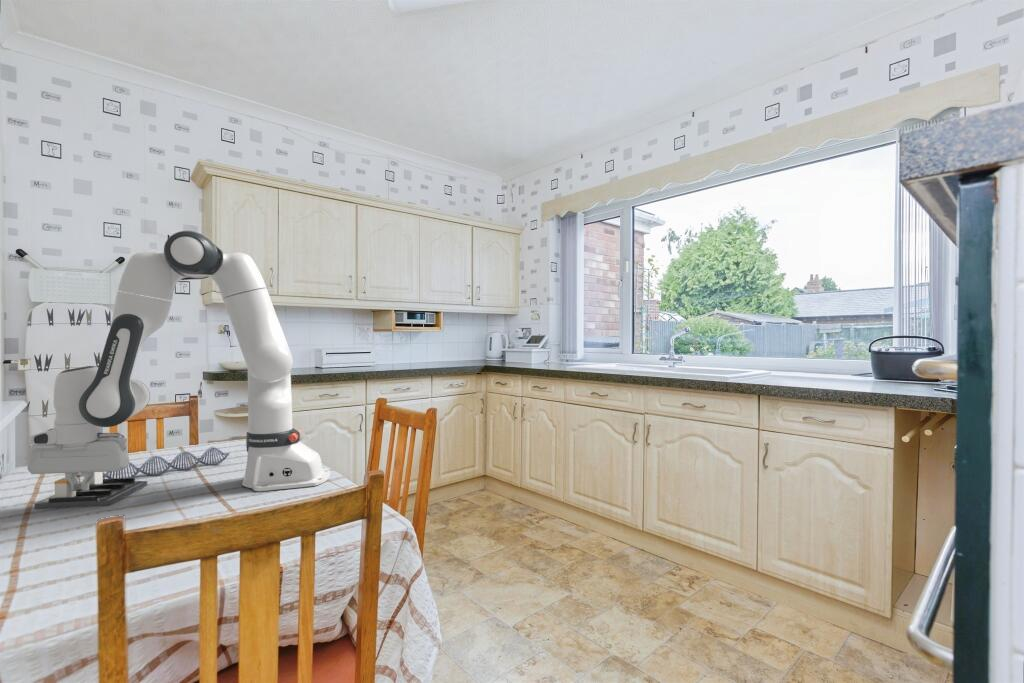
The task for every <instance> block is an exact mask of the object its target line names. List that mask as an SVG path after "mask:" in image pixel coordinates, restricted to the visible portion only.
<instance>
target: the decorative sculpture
mask: <svg viewBox="0 0 1024 683" xmlns="http://www.w3.org/2000/svg"><path fill="white" fill-rule="evenodd" d="M229 456H230V452H227V453H226V452H225V453H224V452H223V451H222V450H221V449H219V448H218V447H215V446H211V447H209V448H207V449H206V450H205V451H204V452H203V453H202V455H201V456H200V457H197V456H196V455H195V454H193V453H191V452H190V451H187V450H186V451H185V450H183V451H181V452H179V453H178V454H177V455H176V456H175V457H174V459H173V460H172V461H171V462H169V461H168V460H166V459H165V458H164V457H162V456H159V455H152V456H150V457H149V458H148V459H147V460H145V462H144V463H142V465H141V466H140V467H138V466H136V465H135V464H133V462H131V461H129V465H128V466H127V467H126V468H125V469H123V470H120V471H113V472H103V479H115V478H135V477H136V476H137V475H138V474H140V473H141V474H143V475H146V476H150V477H157V476H160V475H163V474H164V473H167V471H168V470H169V469H170V468H172V469H173V470H176V471H189V470H191V469H194V467H196V466H197V465H198V464H199V463H200V464H202V465H204V466H217V465H219V464H221V463H222V462H224V461H225V460H226V459H227V458H228V457H229ZM159 470H160V472H159Z"/></svg>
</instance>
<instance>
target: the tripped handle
mask: <svg viewBox="0 0 1024 683" xmlns="http://www.w3.org/2000/svg"><path fill="white" fill-rule="evenodd" d="M54 495H55V498H60V497H74V496H76V491H71V484H70V483H69V482H68V480H67V479H66V478H65V477H63V478H60V479H57V480H55V481H54Z"/></svg>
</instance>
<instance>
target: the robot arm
mask: <svg viewBox="0 0 1024 683" xmlns="http://www.w3.org/2000/svg"><path fill="white" fill-rule="evenodd" d="M207 278H210V279H211V280H213V281H214V282H215V284H216V285H217V287H218V290H219V293H220V296H221V297H222V300H223V304H224V306H225V309H226V312H227V314H228V317H229V320H230V322H231V324H232V328H233V330H234V333H235V335H236V336H235V337H236V339H237V342H238V345H239V348H240V350H241V353H242V356H243V359H244V361H245V364H246V368H247V425H248V426H247V432H246V439H245V447H246V453H247V459H246V466H245V471H244V477H243V480H242V486H243V487H245V488H248V489H252V490H253V491H255V492H264V491H265V492H266V491H267V492H268V491H275V490H277V491H278V490H285V489H287V490H288V489H296V488H307V487H316V486H318V485H319V486H320V485H321V484H323V483H325V482H327V481H328V479H329V478H330V477H331V470H330V469H329V468H325V467H323V462H322V459H321V456H320V454H319V453H318V452H317V451H315V450H314V449H312V448H311V447H310V446H308V445H306V444H304V443H303V442H302V441H301V434H302V433H301V432H302V430H301V429H299V430H296V428H294V427H293V396H292V395H293V394H292V393H293V391H292V377H291V376H292V375H291V371H292V369H293V366H294V358H293V355H292V352H291V350H290V347H289V344H288V341H287V339H286V337H285V334H284V330H283V328H282V325H281V323H280V320H279V318H278V315H277V313H276V310H275V308H274V304H273V302H272V299H271V296H270V293H269V290H268V288H267V285H266V282H265V280H264V277H263V276H262V274H261V272H260V270H259V268H258V266H257V264H256V263H255V261H254V259H253V258H252V257H251V255H250V254H247V253H245V252H239V251H237V252H236V251H235V252H234V251H233V252H227V253H226V252H225V253H224V252H223V250H222V249H221V248H220V247H218V246H217V245H216V244H215V243H213V241H211V240H210V239H208V238H207V237H206V236H205V235H203V234H202V233H199V232H197V231H193V230H181V231H178V232H175V233H173V234H172V235H170V236H169V237H168V238H167V240H166V241H165V242H164V246H163V252H158V253H157V252H152V251H142V252H137V253H134V254H132V256H130V258H129V260H128V262H127V263H126V265H125V268H124V270H123V273H122V275H121V278H120V281H119V285H118V289H117V292H116V293H117V294H116V297H115V302H114V308H113V313H112V314H113V315H112V319H111V323H110V328H109V332H108V336H106V340H105V344H104V347H103V351H102V354H101V357H100V360H99V361H100V362H99V364H98V366H94V365H86V366H82V367H75V368H70V369H64V370H62V371H61V372H59V373H58V374H57V375H56V378H55V381H54V388H53V408H54V411H55V418H54V421H53V428H50V429H47V430H46V431H43V432H39V433H36V434H33V435H31V436H29V439H28V440H29V444H30V445H31V446H30V447H29V448H28V451H27V458H26V460H27V461H26V462H27V463H26V464H27V465H26V468H27V471H28V472H29V473H30V474H31V475H49V474H51V475H52V474H53V475H54V474H64V475H65V477H64V478H66V479H67V480H68V482H69V483H70V484H71V491H85V490H87V489H89V482H90V480H91V479H92V477H93V476H94V472H104V473H107V472H112V473H113V471H115V472H116V471H118V472H119V471H120V472H121V470H123V471H124V469H125V468H126V469H127V466H128V467H129V462H130V457H129V451H128V447H127V446H128V439H127V437H126V435H123V434H121V432H104V428H111V427H115V426H118V425H121V424H122V423H124V422H125V421H127V420H128V419H129V418H131V417H134V416H135V415H136V414H138V413H140V412H142V411H143V410H144V409H145V408H146V407H147V406H148V404H149V403H150V400H151V393H150V390H149V388H148V386H147V385H146V384H145V383H143V382H142V381H140V380H138V379H132V376H133V372H134V370H135V366H136V361H137V359H138V354H139V352H140V349H141V347H142V346H143V345H144V342H145V341H146V340H147V339H148V338H149V337H151V335H153V334H154V333H155V332H156V331H158V330H159V329H161V328H162V327H163V326H164V324H165V322H166V320H167V318H168V316H169V312H170V310H171V306H172V301H173V297H174V293H175V292H174V291H175V288H176V286H177V284H178V283H179V281H187V280H188V281H189V280H202V279H207ZM78 473H82V477H84V479H83V481H82V482H79V480H78V478H77V477H76V475H78Z"/></svg>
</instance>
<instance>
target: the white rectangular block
mask: <svg viewBox="0 0 1024 683" xmlns="http://www.w3.org/2000/svg"><path fill="white" fill-rule="evenodd" d="M76 477H77V478H78V480H79V482H82V481H83V479H84V477H82V473H78V475H76ZM87 490H88V489H87Z"/></svg>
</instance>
